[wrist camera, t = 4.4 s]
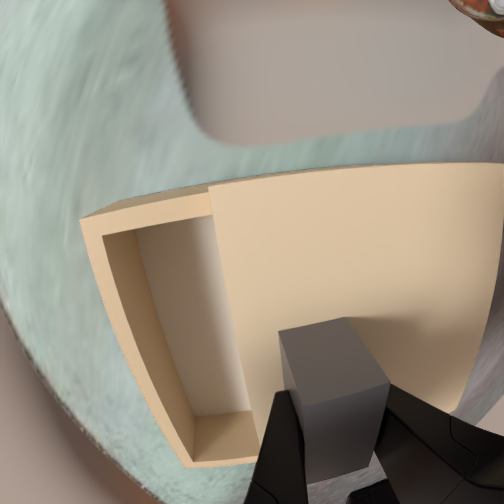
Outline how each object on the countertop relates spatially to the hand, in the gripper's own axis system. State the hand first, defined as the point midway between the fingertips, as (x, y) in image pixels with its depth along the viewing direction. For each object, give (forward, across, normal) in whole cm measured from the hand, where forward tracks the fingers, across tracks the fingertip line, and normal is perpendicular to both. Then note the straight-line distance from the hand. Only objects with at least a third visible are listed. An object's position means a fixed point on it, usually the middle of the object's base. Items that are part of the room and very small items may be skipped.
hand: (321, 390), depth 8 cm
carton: (+5, +1, 0) cm, 5 cm away
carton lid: (+1, -3, 0) cm, 3 cm away
